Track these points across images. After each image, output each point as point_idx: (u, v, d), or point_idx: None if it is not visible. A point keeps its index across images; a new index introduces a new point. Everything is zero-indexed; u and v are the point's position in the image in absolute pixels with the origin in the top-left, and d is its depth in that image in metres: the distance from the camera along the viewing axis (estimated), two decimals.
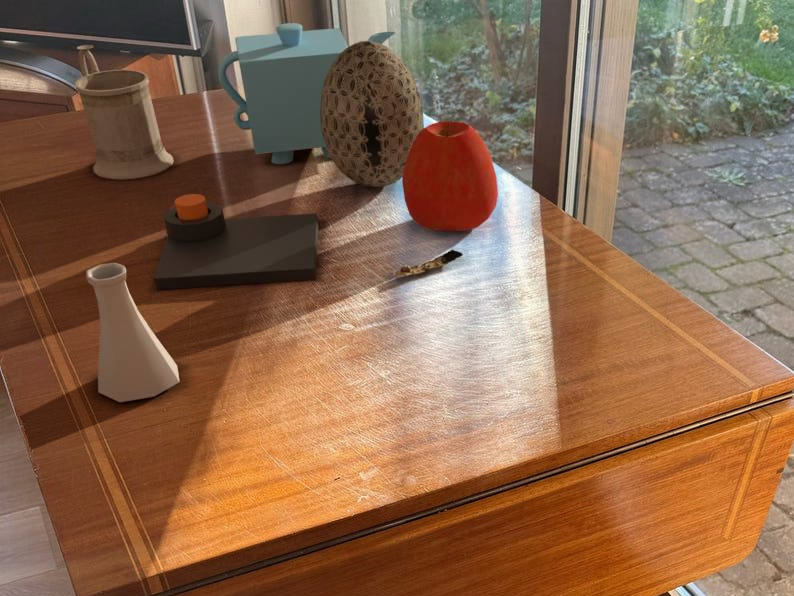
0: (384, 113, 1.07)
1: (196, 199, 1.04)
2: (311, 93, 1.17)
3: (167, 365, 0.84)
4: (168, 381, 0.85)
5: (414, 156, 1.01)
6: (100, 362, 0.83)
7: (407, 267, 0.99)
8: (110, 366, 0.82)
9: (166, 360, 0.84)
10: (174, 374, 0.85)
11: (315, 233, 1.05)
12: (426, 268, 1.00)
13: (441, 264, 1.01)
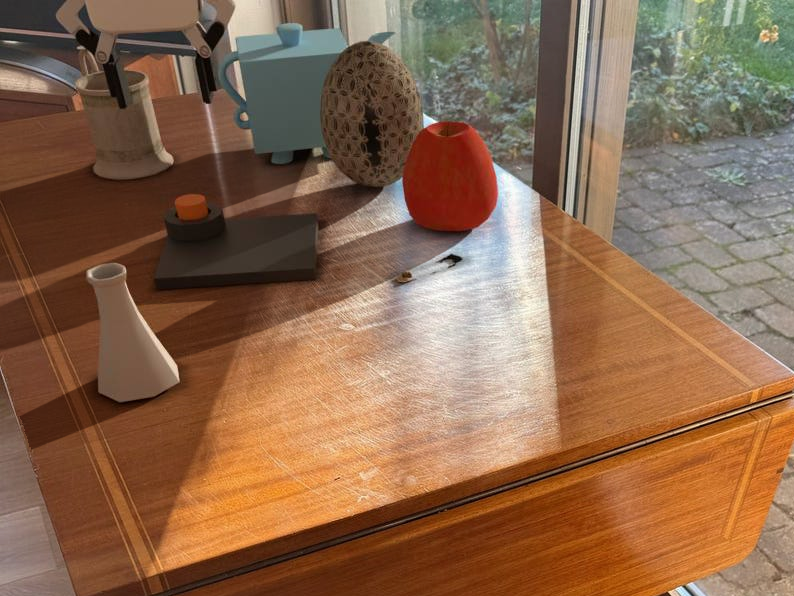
0: (384, 113, 1.07)
1: (196, 199, 1.04)
2: (311, 93, 1.17)
3: (167, 365, 0.84)
4: (168, 381, 0.85)
5: (414, 156, 1.01)
6: (100, 362, 0.83)
7: (408, 272, 0.99)
8: (110, 366, 0.82)
9: (166, 360, 0.84)
10: (174, 374, 0.85)
11: (315, 233, 1.05)
12: None
13: None
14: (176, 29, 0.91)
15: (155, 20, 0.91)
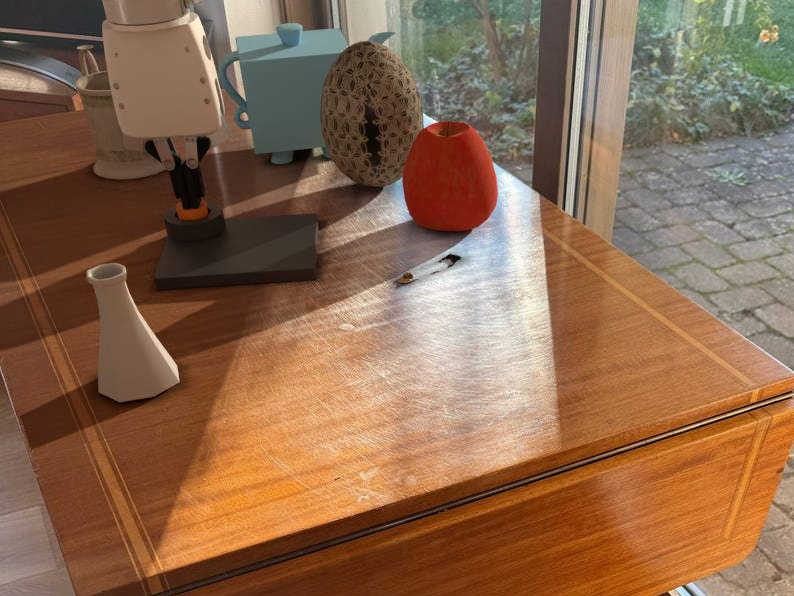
0: (384, 113, 1.07)
1: None
2: (311, 93, 1.17)
3: (167, 365, 0.84)
4: (168, 381, 0.85)
5: (414, 156, 1.01)
6: (100, 362, 0.83)
7: (410, 273, 0.99)
8: (110, 366, 0.82)
9: (166, 360, 0.84)
10: (174, 374, 0.85)
11: (315, 233, 1.05)
12: None
13: None
14: (200, 135, 0.98)
15: (180, 127, 0.97)
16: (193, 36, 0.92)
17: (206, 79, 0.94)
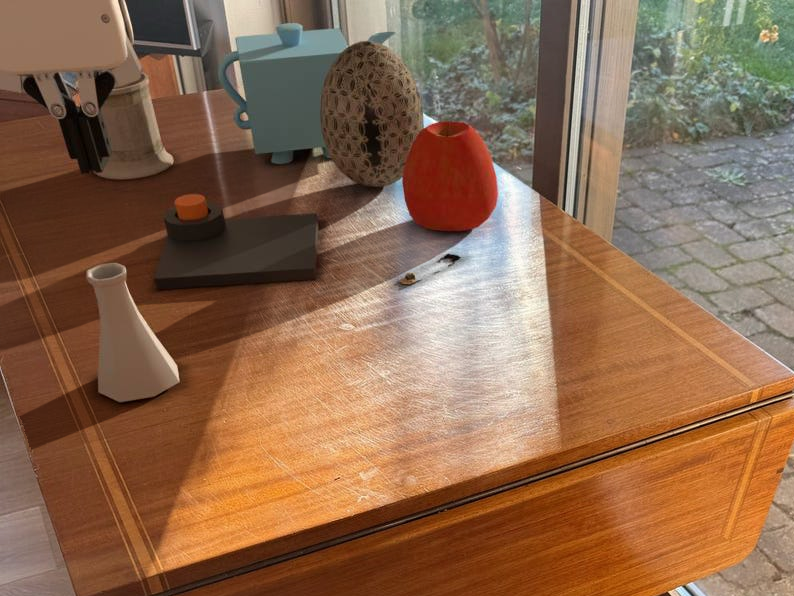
0: (384, 113, 1.07)
1: (196, 199, 1.04)
2: (311, 93, 1.17)
3: (167, 365, 0.84)
4: (168, 381, 0.85)
5: (414, 156, 1.01)
6: (100, 362, 0.83)
7: (412, 274, 0.99)
8: (110, 366, 0.82)
9: (166, 360, 0.84)
10: (174, 374, 0.85)
11: (315, 233, 1.05)
12: None
13: None
14: (99, 68, 0.71)
15: (70, 57, 0.70)
16: None
17: None
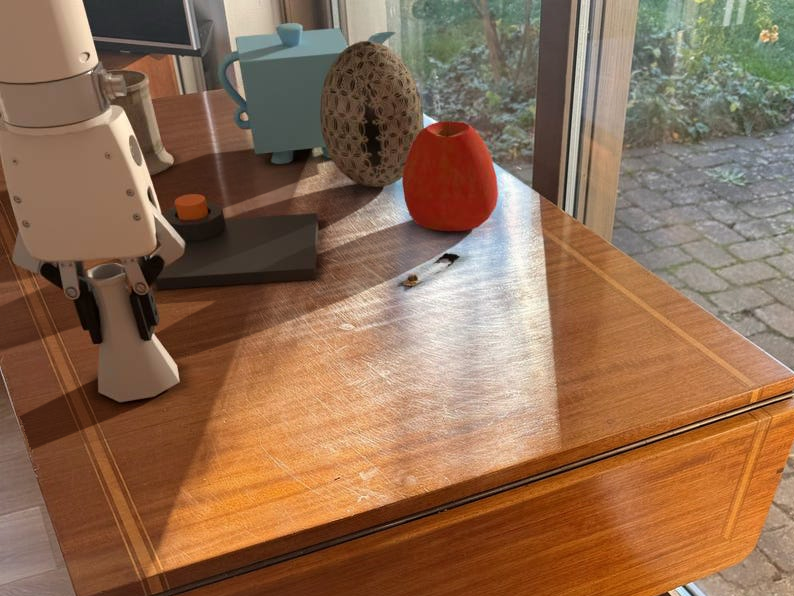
0: (384, 113, 1.07)
1: (196, 199, 1.04)
2: (311, 93, 1.17)
3: (167, 365, 0.84)
4: (168, 381, 0.85)
5: (414, 156, 1.01)
6: (100, 362, 0.83)
7: (414, 275, 0.99)
8: (110, 366, 0.82)
9: (166, 360, 0.84)
10: (174, 374, 0.85)
11: (315, 233, 1.05)
12: None
13: None
14: (130, 257, 0.77)
15: (104, 249, 0.76)
16: (115, 139, 0.71)
17: (134, 191, 0.73)
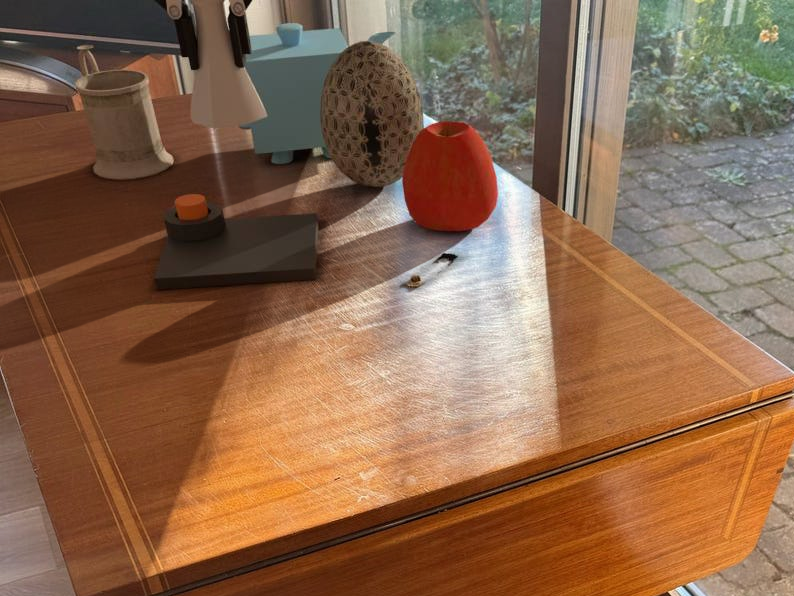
0: (384, 113, 1.07)
1: (196, 199, 1.04)
2: (311, 93, 1.17)
3: (257, 97, 0.90)
4: (258, 113, 0.90)
5: (414, 156, 1.01)
6: (196, 90, 0.89)
7: (417, 276, 0.99)
8: (206, 92, 0.88)
9: (256, 92, 0.90)
10: (263, 107, 0.91)
11: (315, 233, 1.05)
12: None
13: None
14: None
15: None
16: None
17: None
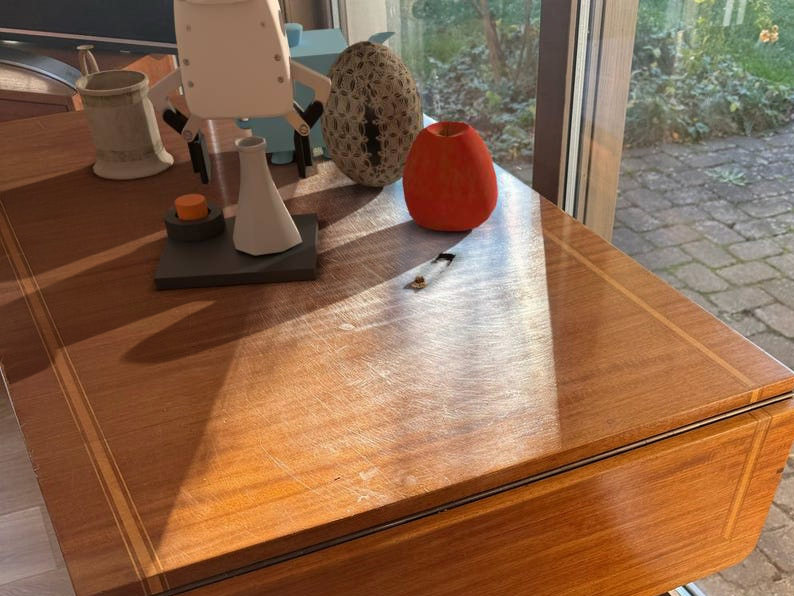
0: (384, 113, 1.07)
1: (196, 199, 1.04)
2: (311, 93, 1.17)
3: (293, 226, 1.01)
4: (293, 240, 1.02)
5: (414, 156, 1.01)
6: (239, 222, 1.00)
7: (421, 277, 0.98)
8: (249, 224, 1.00)
9: (292, 222, 1.02)
10: (298, 234, 1.02)
11: (315, 233, 1.05)
12: None
13: None
14: (271, 115, 0.93)
15: (251, 108, 0.92)
16: (270, 10, 0.87)
17: (281, 56, 0.90)
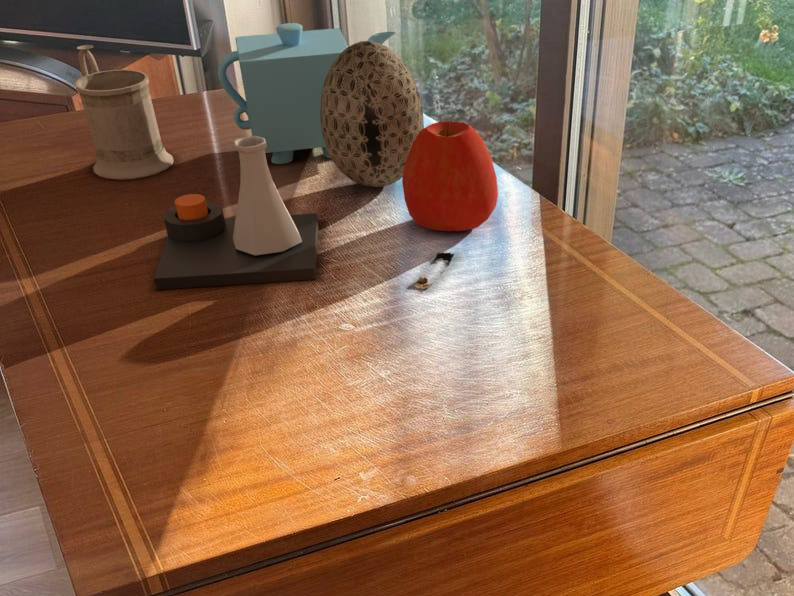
0: (384, 113, 1.07)
1: (196, 199, 1.04)
2: (311, 93, 1.17)
3: (293, 226, 1.01)
4: (293, 240, 1.02)
5: (414, 156, 1.01)
6: (239, 222, 1.00)
7: (424, 278, 0.98)
8: (249, 224, 1.00)
9: (292, 222, 1.02)
10: (298, 234, 1.02)
11: (315, 233, 1.05)
12: None
13: None
14: None
15: None
16: None
17: None
